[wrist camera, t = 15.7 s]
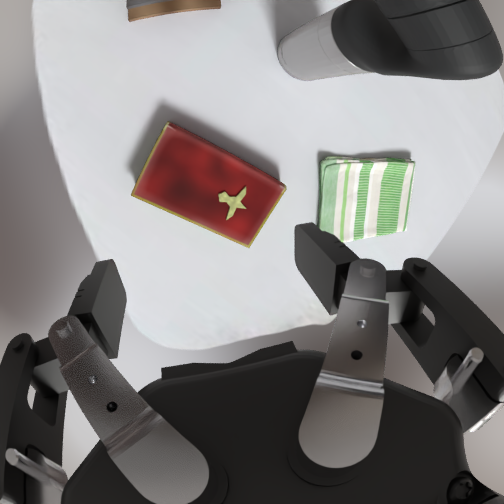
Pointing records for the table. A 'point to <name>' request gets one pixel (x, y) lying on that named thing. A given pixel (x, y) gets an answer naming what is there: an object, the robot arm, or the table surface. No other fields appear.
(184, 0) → the stand
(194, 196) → the hardcover book
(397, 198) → the dish towel
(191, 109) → the table surface
